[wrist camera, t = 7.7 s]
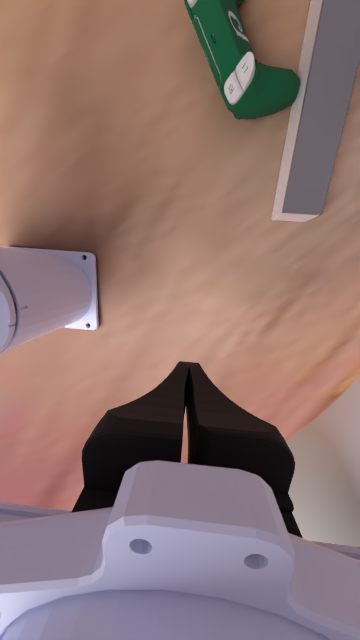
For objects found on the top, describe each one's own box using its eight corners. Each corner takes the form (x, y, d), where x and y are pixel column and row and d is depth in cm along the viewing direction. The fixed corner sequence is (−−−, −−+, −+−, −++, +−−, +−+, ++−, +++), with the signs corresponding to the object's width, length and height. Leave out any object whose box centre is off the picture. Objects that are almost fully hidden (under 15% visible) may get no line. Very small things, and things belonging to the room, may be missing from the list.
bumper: (271, 219, 17) (283, 211, 14) (316, -36, 13) (344, -102, 10) (304, 222, 17) (322, 214, 14) (361, -36, 12) (399, -102, 10)
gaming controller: (215, 23, 15) (163, -14, 12) (257, -62, 12) (203, -145, 9) (260, 140, 17) (226, 136, 13) (306, 92, 14) (277, 72, 10)
